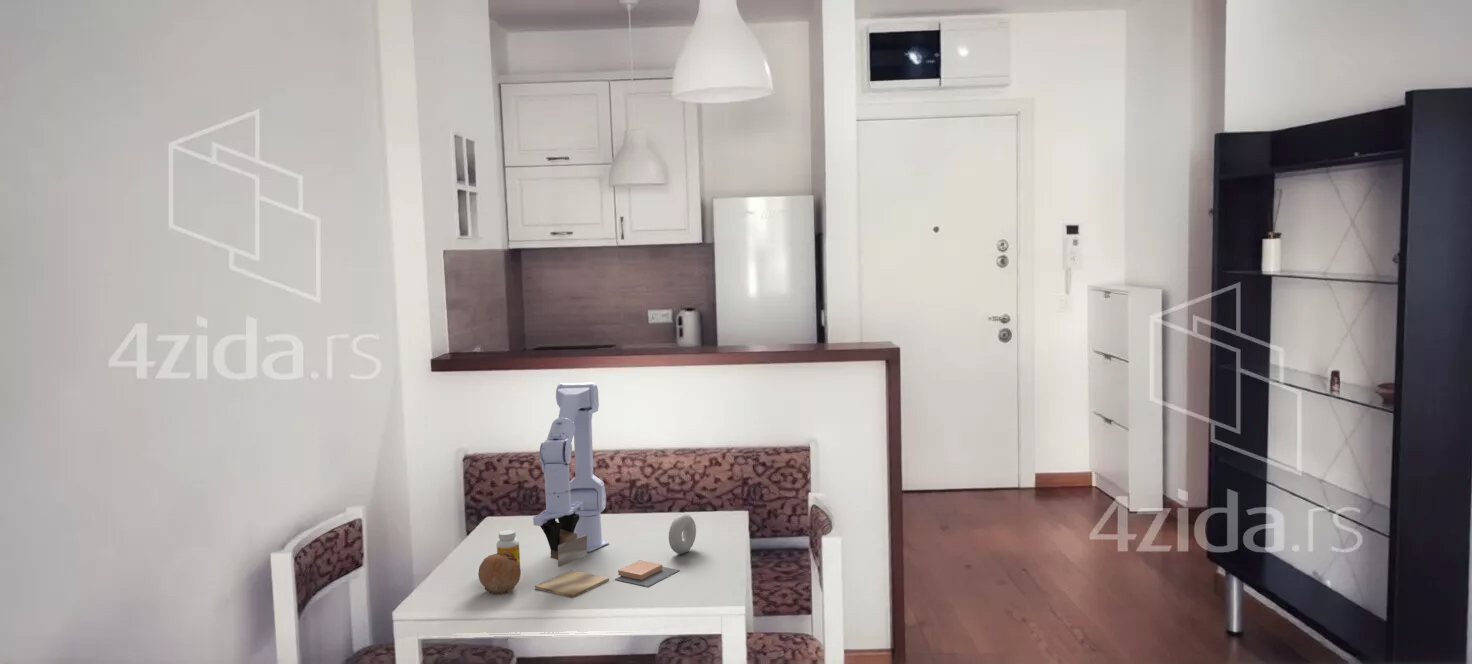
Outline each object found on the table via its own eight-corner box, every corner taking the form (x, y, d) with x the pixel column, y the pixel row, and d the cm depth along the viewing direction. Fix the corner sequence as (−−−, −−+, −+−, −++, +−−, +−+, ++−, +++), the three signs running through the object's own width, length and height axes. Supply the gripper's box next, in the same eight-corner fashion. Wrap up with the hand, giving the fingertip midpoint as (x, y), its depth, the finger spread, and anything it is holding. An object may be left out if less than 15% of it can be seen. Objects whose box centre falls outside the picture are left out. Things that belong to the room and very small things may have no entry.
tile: (618, 570, 218) (641, 575, 214) (639, 560, 225) (662, 564, 221) (618, 575, 218) (641, 580, 214) (639, 565, 225) (662, 570, 221)
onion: (515, 598, 215) (531, 557, 217) (505, 603, 206) (522, 559, 207) (477, 584, 215) (494, 543, 217) (466, 588, 206) (483, 545, 208)
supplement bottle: (496, 568, 227) (493, 531, 226) (517, 565, 229) (515, 527, 229) (500, 575, 222) (498, 536, 221) (522, 571, 225) (520, 533, 224)
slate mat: (614, 579, 216) (614, 579, 216) (646, 564, 226) (646, 563, 226) (648, 587, 211) (648, 586, 211) (679, 570, 221) (679, 570, 221)
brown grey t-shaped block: (542, 561, 213) (542, 536, 212) (569, 550, 220) (569, 526, 219) (559, 567, 210) (559, 541, 209) (586, 555, 217) (587, 531, 216)
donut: (678, 560, 229) (676, 520, 228) (666, 558, 230) (664, 519, 229) (699, 548, 237) (697, 510, 236) (688, 546, 239) (686, 508, 238)
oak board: (535, 588, 213) (534, 585, 213) (571, 572, 223) (571, 569, 222) (573, 597, 206) (573, 595, 206) (608, 580, 216) (608, 578, 216)
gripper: (547, 500, 206) (551, 559, 207) (591, 485, 218) (594, 541, 219) (525, 496, 210) (528, 554, 211) (569, 482, 222) (572, 537, 223)
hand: (560, 547), depth 215 cm, fingers closed on brown grey t-shaped block, 3 cm apart
